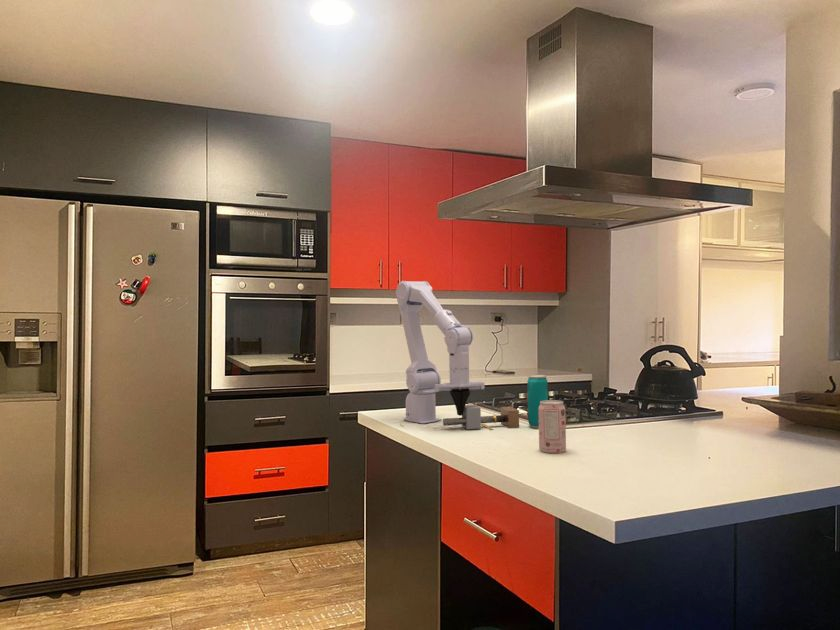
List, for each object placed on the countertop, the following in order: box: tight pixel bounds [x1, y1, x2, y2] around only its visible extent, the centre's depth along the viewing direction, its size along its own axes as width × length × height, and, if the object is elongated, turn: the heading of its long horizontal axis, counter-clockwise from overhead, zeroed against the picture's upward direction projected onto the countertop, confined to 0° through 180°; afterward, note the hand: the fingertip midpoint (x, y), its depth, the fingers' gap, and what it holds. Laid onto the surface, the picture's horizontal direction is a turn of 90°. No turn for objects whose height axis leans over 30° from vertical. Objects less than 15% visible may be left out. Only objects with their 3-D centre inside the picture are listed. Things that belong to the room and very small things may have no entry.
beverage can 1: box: [526, 374, 549, 430], centre depth 186 cm, size 6×6×15 cm
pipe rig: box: [442, 406, 520, 431], centre depth 188 cm, size 22×9×5 cm, turn 101°
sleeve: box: [461, 404, 482, 430], centre depth 187 cm, size 4×6×6 cm, turn 11°
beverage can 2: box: [538, 399, 567, 454], centre depth 157 cm, size 6×6×12 cm
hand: (460, 414), depth 186 cm, fingers closed
